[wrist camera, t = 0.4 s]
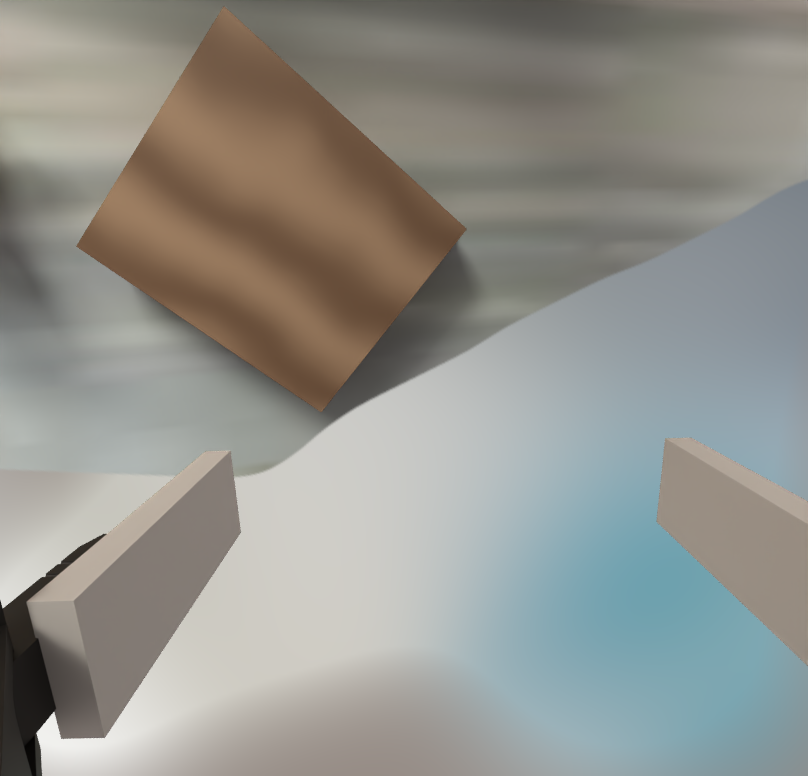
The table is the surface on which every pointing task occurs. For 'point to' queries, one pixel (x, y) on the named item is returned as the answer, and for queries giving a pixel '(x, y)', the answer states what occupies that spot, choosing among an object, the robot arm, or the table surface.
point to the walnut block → (269, 218)
